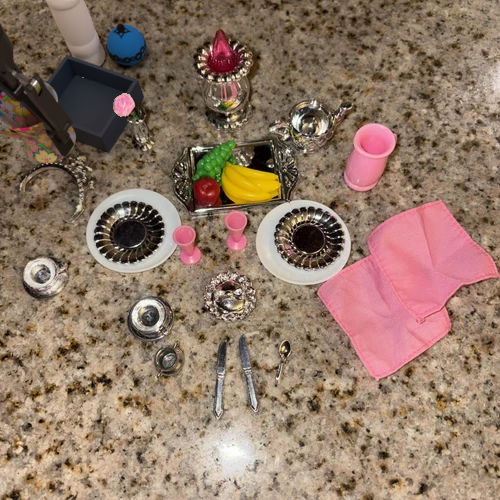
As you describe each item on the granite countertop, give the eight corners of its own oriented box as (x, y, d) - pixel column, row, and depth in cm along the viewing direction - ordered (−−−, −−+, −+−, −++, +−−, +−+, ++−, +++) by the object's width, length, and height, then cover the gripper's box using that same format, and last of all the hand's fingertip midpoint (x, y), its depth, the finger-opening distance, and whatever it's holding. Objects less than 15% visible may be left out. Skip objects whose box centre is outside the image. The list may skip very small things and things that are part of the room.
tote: (37, 126, 105) (26, 109, 100) (75, 72, 111) (66, 54, 106) (109, 153, 103) (101, 137, 97) (144, 97, 108) (138, 79, 103)
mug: (76, 116, 85) (53, 73, 75) (83, 161, 82) (60, 122, 72) (6, 130, 84) (-27, 89, 74) (10, 176, 81) (-23, 139, 71)
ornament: (132, 39, 114) (121, 3, 105) (157, 59, 112) (148, 23, 103) (104, 60, 112) (90, 25, 103) (128, 80, 110) (116, 47, 100)
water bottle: (91, 76, 110) (46, -22, 87) (69, 62, 112) (19, -39, 89) (112, 57, 112) (74, -45, 89) (90, 42, 114) (47, -61, 91)
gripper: (60, 39, 60) (111, 145, 81) (-81, -14, 63) (3, 101, 84) (24, 84, 57) (87, 181, 78) (-120, 27, 61) (-23, 134, 82)
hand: (44, 139), depth 81 cm, fingers closed on mug, 9 cm apart
